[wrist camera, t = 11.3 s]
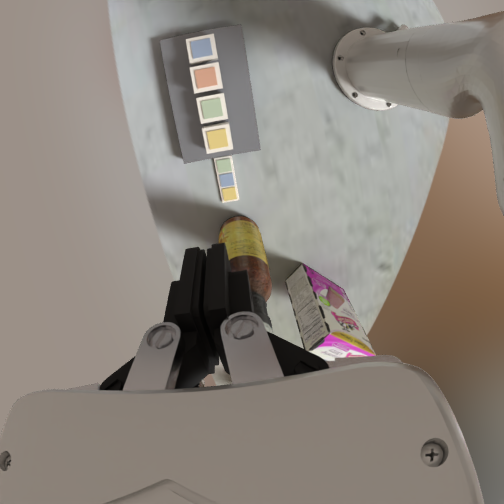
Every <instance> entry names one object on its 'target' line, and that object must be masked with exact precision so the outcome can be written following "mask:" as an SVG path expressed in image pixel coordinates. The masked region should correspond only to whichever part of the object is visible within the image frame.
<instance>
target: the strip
mask: <svg viewBox="0 0 504 504" xmlns="http://www.w3.org/2000/svg"><path fill="white" fill-rule="evenodd" d="M214 162H215V167H216V172H217V177H218V182H219V187H220V192H221V197H222V202H223V203H225V202H231V201H237V200H239V195H238V189H237V183H236V177H235V172H234V166H233V160H232V155H228V156H223V157H217V158H214Z"/></svg>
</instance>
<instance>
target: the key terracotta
mask: <svg viewBox="0 0 504 504" xmlns="http://www.w3.org/2000/svg"><path fill="white" fill-rule="evenodd" d="M190 73H191V78H192V84H193V89H194V94H195V93H200V92H205V91H211V90H216V89H222V88H223V85H222V79H221V73H220V67H219V62H216V63H210V64H205V65H200V66H195V67H190Z"/></svg>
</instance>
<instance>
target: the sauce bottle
mask: <svg viewBox="0 0 504 504" xmlns="http://www.w3.org/2000/svg"><path fill="white" fill-rule="evenodd" d="M224 242H225V245H226V249H227V253H228V258H229V262H230V267H231V271H232V272H236V271H242V270H247V271H248V276H249V282H250V287H251V293H252V299H253V307H254V313H255V314H257V315H258V316H259V317H260V318H261V319H262V321H263V323H264V326H265V329H266V331H268V332H270V333H272V324H271V320H270V318H269V316H268V314H267V309H266V307H267V303H266V302H267V300H268V299H269V297H270V294H271V290H272V282H271V278H270V270H269V266H268V262H267V258H266V254H265V250H264V246H263V242H262V238H261V233H260V232H259V229H258V226H257V225H256V223H255V222H254V221H253V220H251V219H249V218H247V217H243V216H238V217H233V218H230V219H228V220H227V221H226V222H225V223H224V224H223V226H222V227H221V229H220V234H219V243H224Z"/></svg>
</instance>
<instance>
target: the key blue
mask: <svg viewBox="0 0 504 504" xmlns="http://www.w3.org/2000/svg"><path fill="white" fill-rule="evenodd" d="M186 44H187V50H188V56H189V62H190V64H191V65H194V64H198V63H203V62H209V61H214V60H218V55H217V49H216V43H215V38H214V34H209V35H204V36H199V37H194V38H189V39H186Z"/></svg>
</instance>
